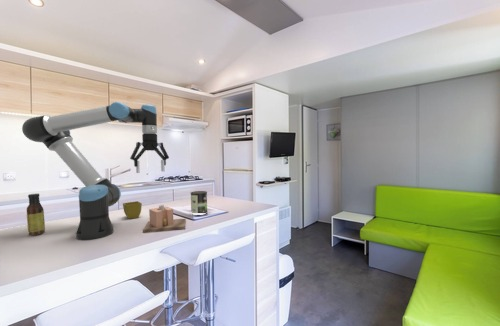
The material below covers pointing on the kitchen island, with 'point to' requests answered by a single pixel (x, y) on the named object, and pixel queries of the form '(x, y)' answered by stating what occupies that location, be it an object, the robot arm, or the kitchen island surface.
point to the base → (167, 228)
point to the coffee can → (199, 202)
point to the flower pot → (132, 209)
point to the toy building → (160, 216)
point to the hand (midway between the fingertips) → (150, 172)
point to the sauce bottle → (35, 215)
